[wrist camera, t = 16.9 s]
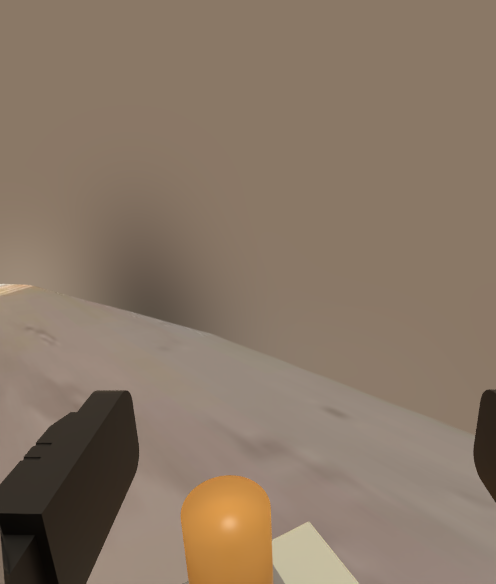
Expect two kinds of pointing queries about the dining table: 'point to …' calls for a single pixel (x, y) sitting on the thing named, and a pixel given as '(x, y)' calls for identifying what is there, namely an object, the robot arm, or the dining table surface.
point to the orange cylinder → (228, 532)
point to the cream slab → (306, 559)
